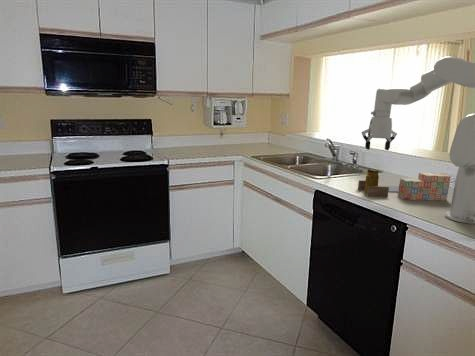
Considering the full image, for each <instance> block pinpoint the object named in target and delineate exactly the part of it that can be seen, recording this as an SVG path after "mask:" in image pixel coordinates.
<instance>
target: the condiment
mask: <svg viewBox="0 0 475 356" xmlns="http://www.w3.org/2000/svg"><path fill="white" fill-rule="evenodd" d="M379 173H380V170H378V169H373V168H368V169H367V172H366V175H365V180H366V181H365V189H364V190H363V194H366V195H367V189H368V186H379V180H380V179H379V178H380V177H379Z"/></svg>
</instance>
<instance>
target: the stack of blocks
mask: <svg viewBox="0 0 475 356" xmlns="http://www.w3.org/2000/svg"><path fill="white" fill-rule="evenodd" d="M451 178H452V177H451V175H448V174H445V173H438V172H437V173H436V172H418V178H400V179H399V184H398V187H399V190H398V192H397V197H399V198H401V199H402V200H411V201H412V200H413V201H415V200H417V201H444V202H445V201H448V200H447V198H448V194H449V189H450V184H451V183H450V182H451Z"/></svg>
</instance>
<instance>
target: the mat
mask: <svg viewBox="0 0 475 356" xmlns="http://www.w3.org/2000/svg"><path fill="white" fill-rule="evenodd" d="M387 186H388V187H389V191H388V193H398V190H399V185H387Z"/></svg>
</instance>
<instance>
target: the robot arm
mask: <svg viewBox="0 0 475 356" xmlns="http://www.w3.org/2000/svg"><path fill="white" fill-rule="evenodd" d="M451 83H453V84H456V85H459V86H463V87H466V88H470V89H475V62H471V61H468V60H465V59H463V58H462V57H458V56H449V55H448V56H444V57H440V59H438V60H437V61H436V62H435V63H434V66H433V68H432V69H430V70H428V71H426V72H424V73H422V75H421V77H420V81H419V82H418V83H416V84H415V85H412V86H410V87H408V88H406V87H392V88H390V87H389V88H387V87H380V88H378V89H377V90H376V93H375V100H374V106H373V107H374V108H373V111H371V112H370V115H372V116H371V119H370V121H369V126H368V128H367V129H365V130H363V131H361V136H362V139H364V140H365V144H364V145H365V149H366V150H370V148H371V140H372V139H385V140H386V141H385V144H384V150H386V151H389V150H390V147H391V143H392V142H393V140H395V138H396V137H397V136H398V133H397V132H396V131H394V130H393V129H392V127H393V120H392V117H391V110H392V105H393V106H394V105H395V106H396V105H398V106H399V105H400V106H402V105H403V106H407V105H411V104H414V103H416V102H418V101H420V100H423V99H425V98H426V97H428V96H429V95H430V94H431V93H432V92H434V91H436V90H439V89H440V88H442V87H445V86H447V85H449V84H451ZM366 134H367V136H366ZM448 154H449V155H448V156H449V160H450V162H451V163H452V165H454V166H455V167H458V169H457V172H456V177H455V181H454V185H453V186H454V187H453V192H452V198H451V204H450V209H449V211H446V212H445V214H444V216H445V218H447V219H449V220H451V221H455V222H459V223H464V224H471V225H475V112H474V113H471V114H467V115H466V116H464V117H463V118H461V120H460V121H459V122H458V125H457V126H456V130H455V133H454V135H453V139H452V141H451V145H450V149H449V153H448Z"/></svg>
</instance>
